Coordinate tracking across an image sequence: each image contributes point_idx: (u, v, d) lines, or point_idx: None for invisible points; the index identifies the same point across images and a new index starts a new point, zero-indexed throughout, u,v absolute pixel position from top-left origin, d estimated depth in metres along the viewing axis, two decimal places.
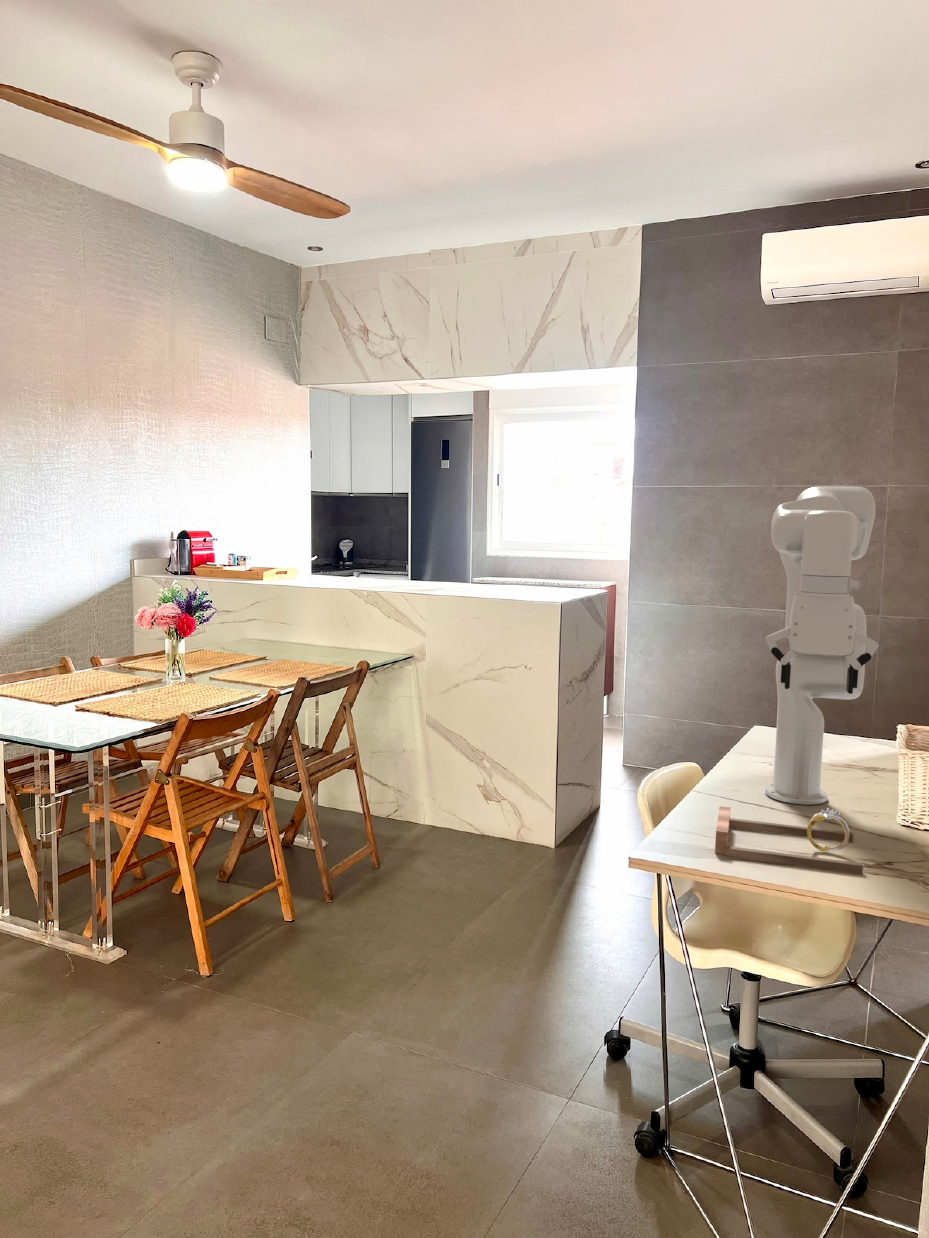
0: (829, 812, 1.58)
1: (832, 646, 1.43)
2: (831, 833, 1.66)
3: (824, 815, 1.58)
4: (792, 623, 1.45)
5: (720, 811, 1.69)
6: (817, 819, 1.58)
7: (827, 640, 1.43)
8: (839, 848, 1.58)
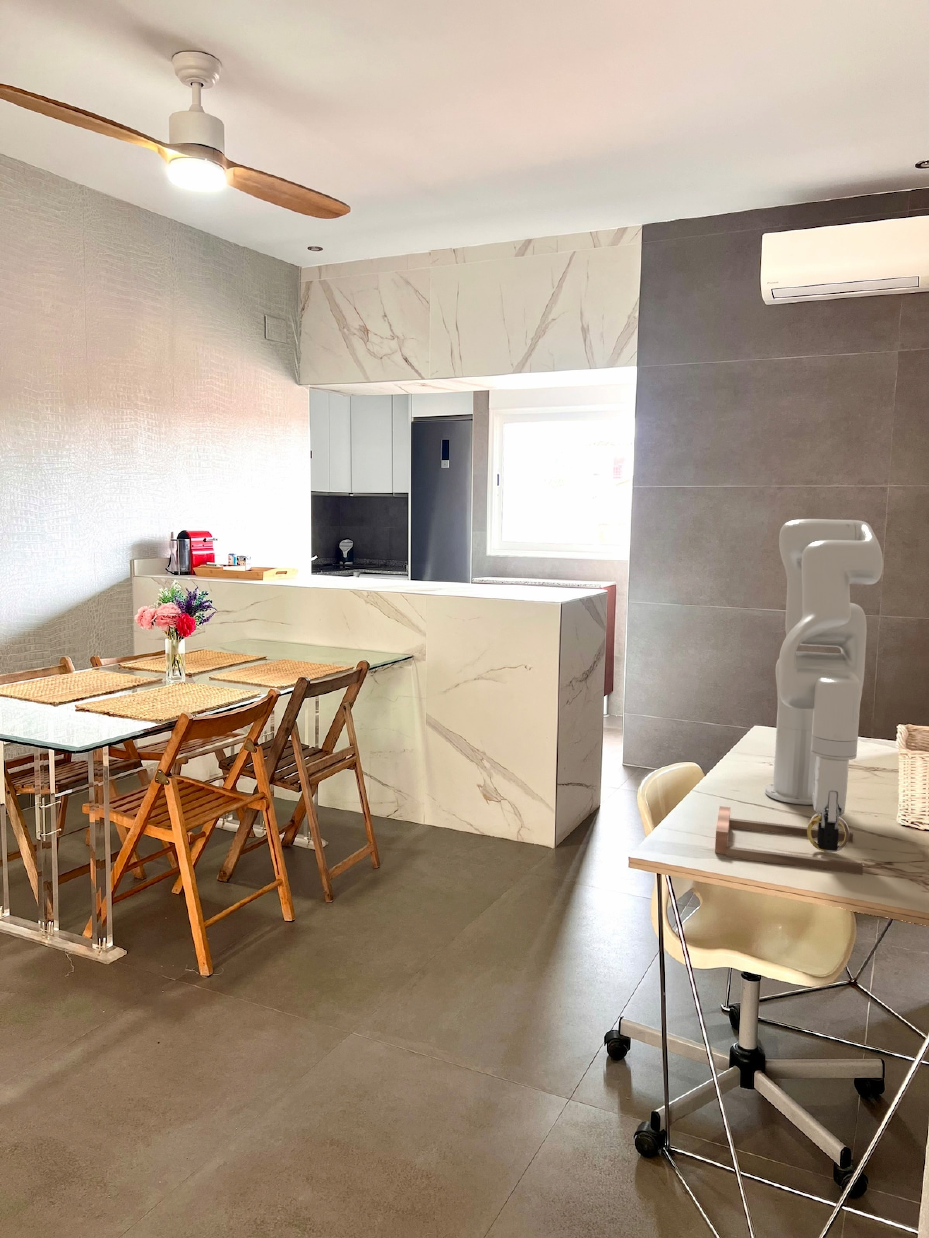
0: None
1: None
2: None
3: None
4: (845, 788, 1.53)
5: (720, 811, 1.69)
6: (817, 819, 1.58)
7: None
8: (839, 848, 1.58)
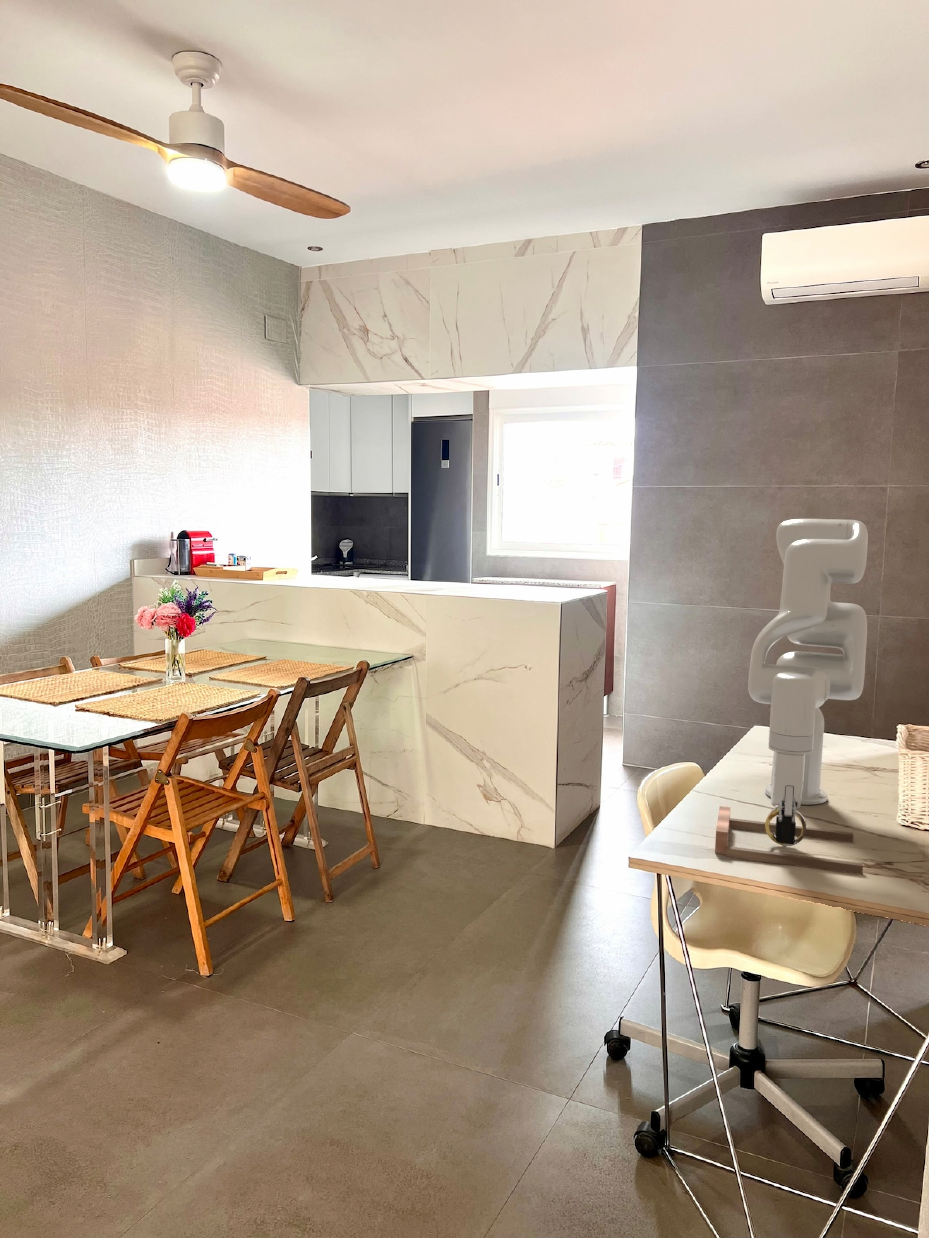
0: None
1: None
2: (831, 833, 1.66)
3: (782, 809, 1.60)
4: (801, 783, 1.55)
5: (720, 811, 1.69)
6: (775, 813, 1.61)
7: None
8: (796, 841, 1.60)
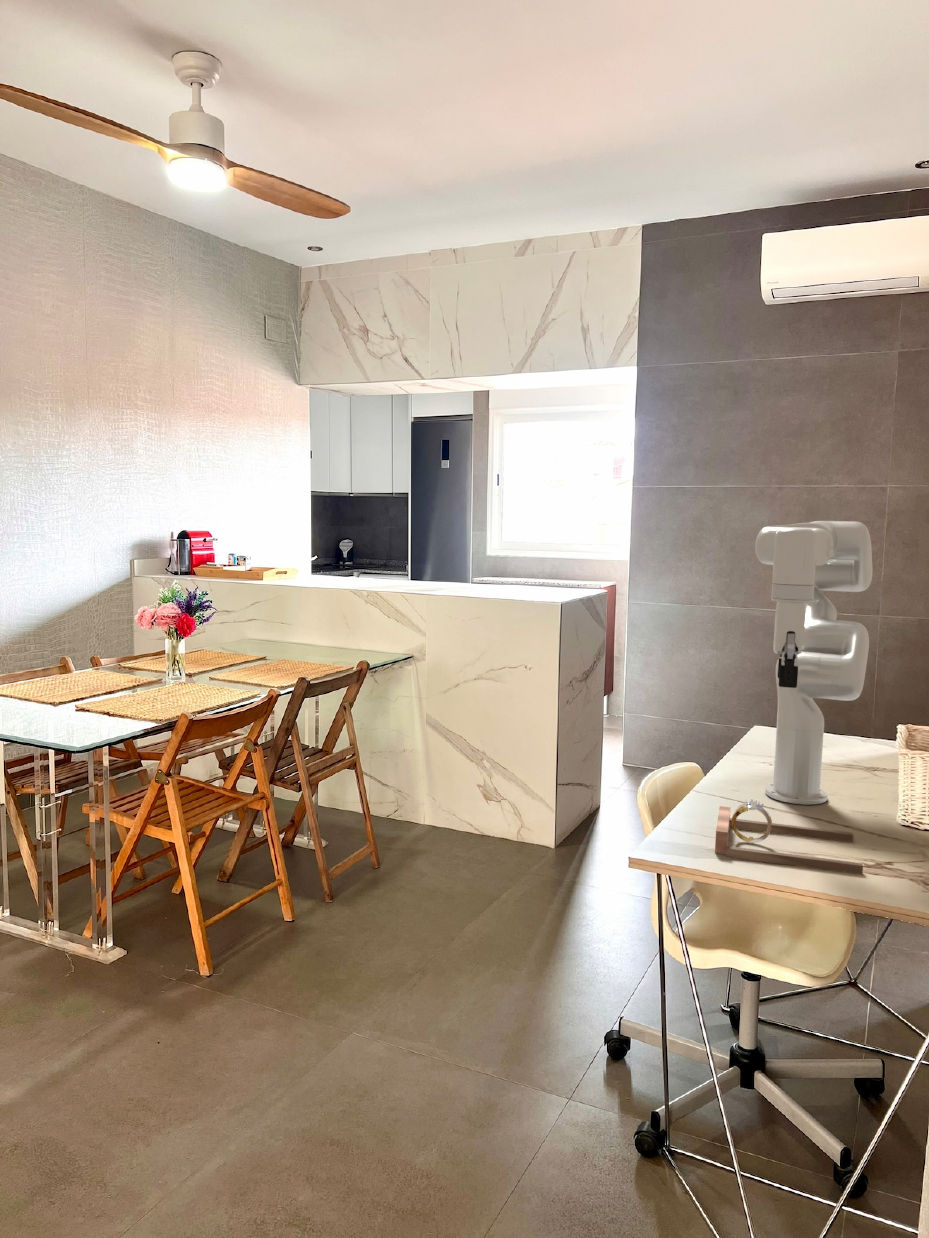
0: (752, 803, 1.62)
1: None
2: (831, 833, 1.66)
3: (747, 806, 1.62)
4: (802, 629, 1.64)
5: (720, 811, 1.69)
6: (741, 811, 1.62)
7: None
8: (762, 838, 1.62)
